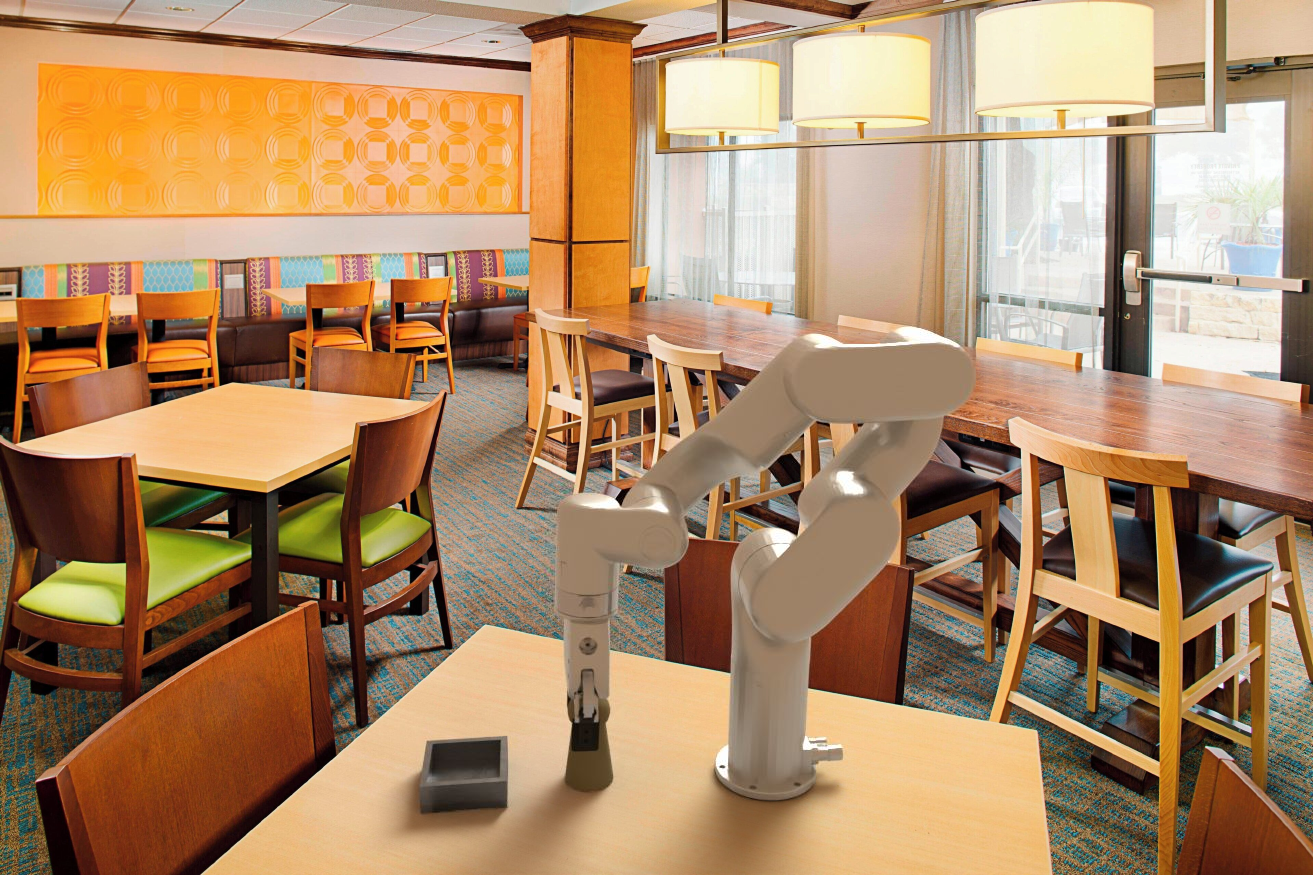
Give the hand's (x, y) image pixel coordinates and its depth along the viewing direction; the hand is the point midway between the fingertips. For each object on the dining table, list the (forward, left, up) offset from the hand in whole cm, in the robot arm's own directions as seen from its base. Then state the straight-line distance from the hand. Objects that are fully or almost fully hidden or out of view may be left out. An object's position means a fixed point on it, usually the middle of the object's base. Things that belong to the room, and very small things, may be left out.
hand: (582, 728), depth 120 cm
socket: (+14, 0, -7) cm, 16 cm away
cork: (-1, 0, -7) cm, 7 cm away
